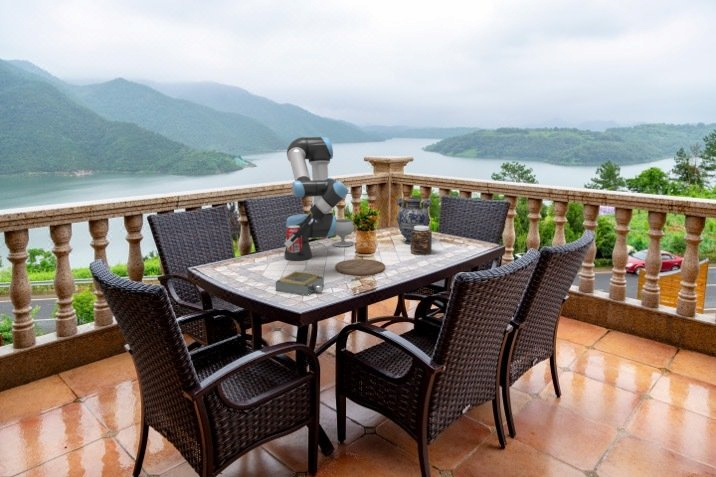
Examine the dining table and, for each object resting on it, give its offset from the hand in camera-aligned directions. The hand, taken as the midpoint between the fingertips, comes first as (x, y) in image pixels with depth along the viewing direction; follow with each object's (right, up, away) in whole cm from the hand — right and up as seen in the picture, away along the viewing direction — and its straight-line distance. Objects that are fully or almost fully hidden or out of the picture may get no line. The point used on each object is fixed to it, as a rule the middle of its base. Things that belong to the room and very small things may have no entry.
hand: (286, 243), depth 223 cm
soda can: (+3, -4, +1) cm, 5 cm away
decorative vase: (+67, 0, +71) cm, 98 cm away
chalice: (+24, -2, +66) cm, 70 cm away
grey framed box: (+10, -20, -15) cm, 27 cm away
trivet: (+34, -13, +16) cm, 40 cm away
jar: (+69, -6, +46) cm, 83 cm away
